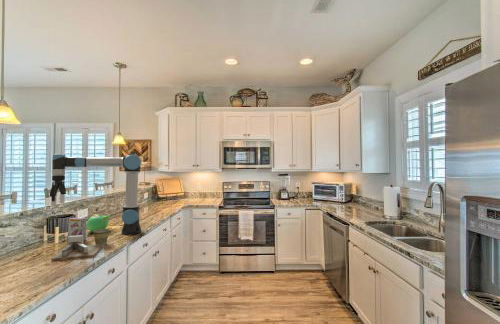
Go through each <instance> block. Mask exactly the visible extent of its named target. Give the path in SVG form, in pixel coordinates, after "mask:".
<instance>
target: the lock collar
mask: <svg viewBox="0 0 500 324" xmlns="http://www.w3.org/2000/svg"><path fill="white" fill-rule="evenodd" d="M72 242H77V243H81V244H83V245H84V241H83V235H76V236H68V235H67V236H66V246H68V245H69V244H71V243H72Z"/></svg>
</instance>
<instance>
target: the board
mask: <svg viewBox="0 0 500 324" xmlns="http://www.w3.org/2000/svg"><path fill="white" fill-rule="evenodd" d="M77 243H78V242H71V243H70V244H69V245H68V246H67V245H66V246H65V247H63V248H62V249H61V250H60V251H59V252H57V254H55V255H54V256H53V257H52V258H50V259H51V260H50V261H51V262H57V261H58V262H59V261H70V260H78V259H79V260H81V259H82V260H83V259H91V258H92V257H93V258H95V257H96V256H97V254H98V253H99V252H100V250H101V249H102V247H103V246H102V245H96V244H95V245H87V246H88V253H82V252H80V251H78V250H76V244H77Z"/></svg>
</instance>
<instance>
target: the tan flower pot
mask: <svg viewBox="0 0 500 324" xmlns="http://www.w3.org/2000/svg"><path fill="white" fill-rule="evenodd" d="M110 232H111V231H110V229H109V228H105V229H98V230H94V231H92V233H93V238H94V243H95V246H96V245H102V247H103V246H106V245H107V242H108V237H109V233H110Z"/></svg>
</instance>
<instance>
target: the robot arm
mask: <svg viewBox="0 0 500 324" xmlns="http://www.w3.org/2000/svg"><path fill="white" fill-rule="evenodd" d="M51 165H52V170H51V173H52V176H51V180H52V182H51V188H50V192H49V197H50V198H51V199H50V202H51V203H50V206H52V207H55V206H56V207H57V196H56V195H57V194H58V191H59V192H60V194H59V203H60V204H65V202H66V201H65V196H66V194H67V190H66V186H65V185H66V184H65V180H66V168H95V167H96V168H112V167H113V168H120V167H121V168H123V169H124V173H125V174H126V175H125V194H124V195H125V197H124V198H125V199H124V205H123V206H122V214H121V220H122V221H123V226H122V229H121V234H122V235H124V236H127V235H128V236H131V235H137V234H140V233H142V226H141V224H140V205H139V204H138V187H139V186H138V185H139V184H138V183H139V181H138V180H139V173H141V165H142V159H141V158H140V156H138V155H137V154H128V155H127V156H122V157H82V156H66V154H65V153H54V154H53V155H52V163H51ZM53 181H54V182H53Z"/></svg>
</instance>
